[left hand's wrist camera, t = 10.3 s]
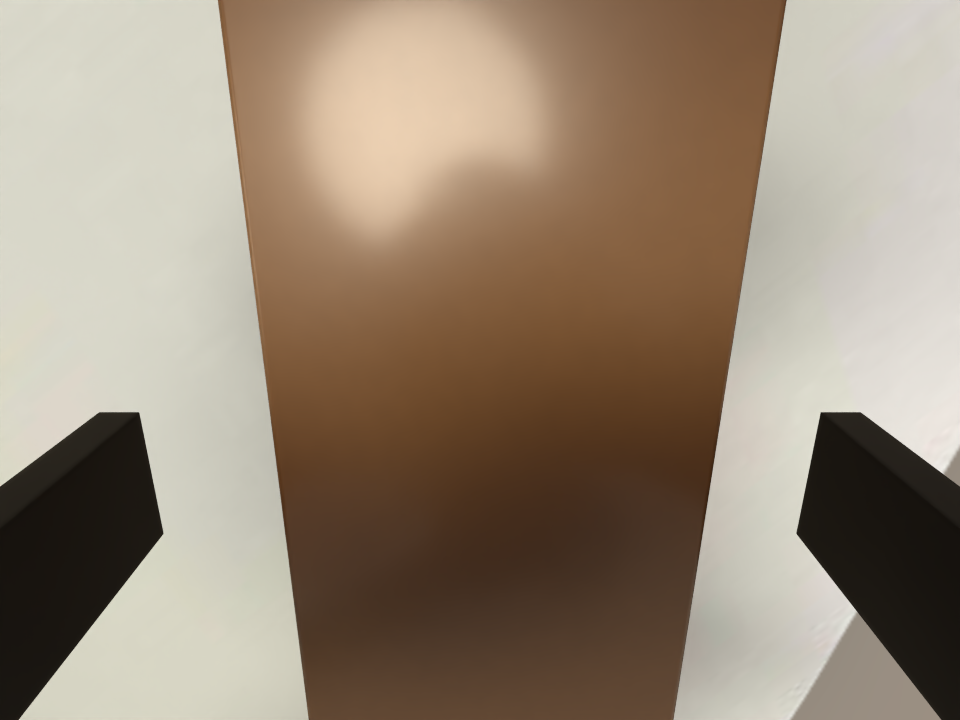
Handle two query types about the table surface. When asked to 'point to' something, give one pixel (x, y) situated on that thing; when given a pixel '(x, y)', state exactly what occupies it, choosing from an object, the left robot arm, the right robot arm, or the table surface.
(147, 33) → the table surface
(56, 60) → the table surface
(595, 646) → the bar
